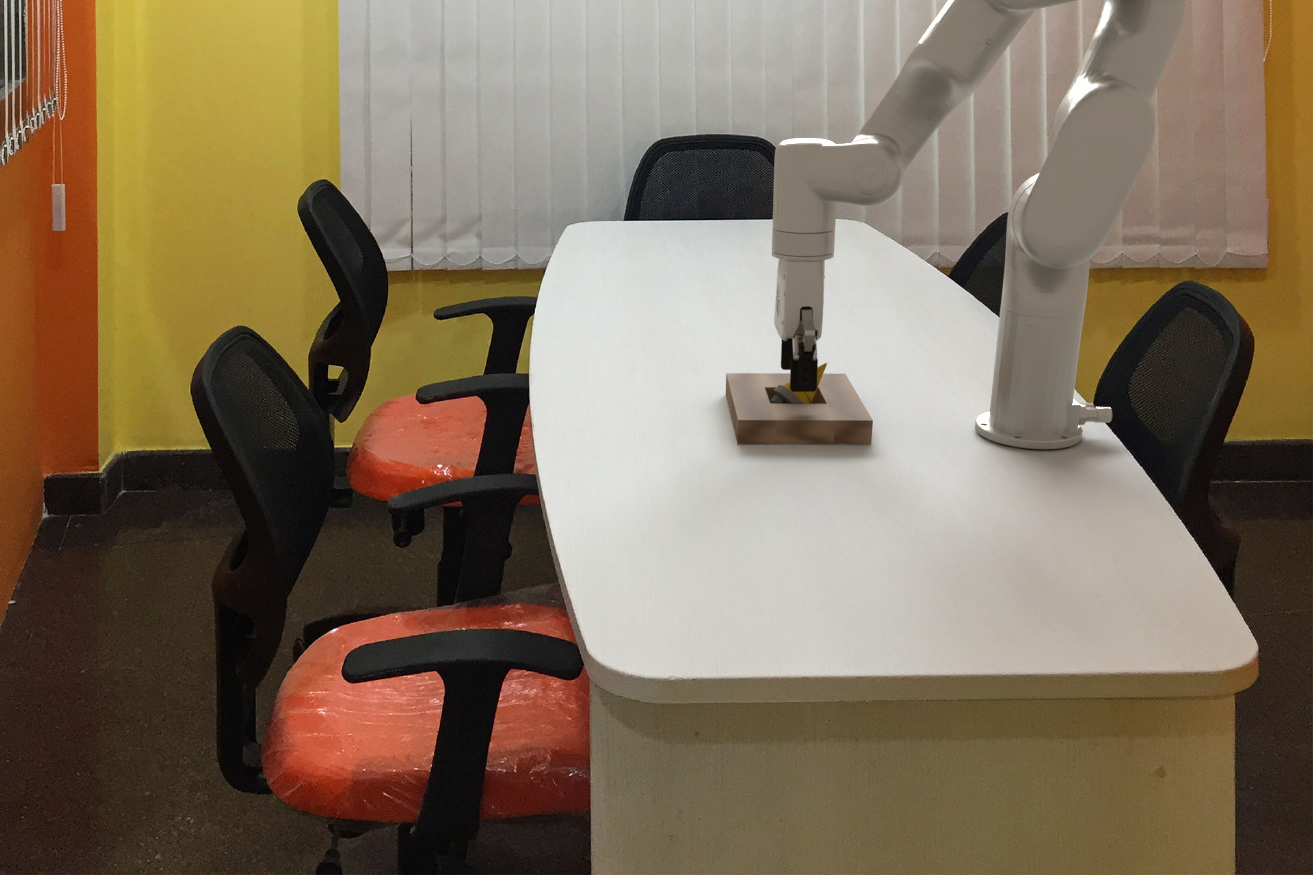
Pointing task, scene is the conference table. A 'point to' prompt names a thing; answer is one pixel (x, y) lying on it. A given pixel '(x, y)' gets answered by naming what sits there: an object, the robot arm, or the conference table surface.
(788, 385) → the drill bit
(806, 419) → the holder block
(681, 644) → the conference table surface
